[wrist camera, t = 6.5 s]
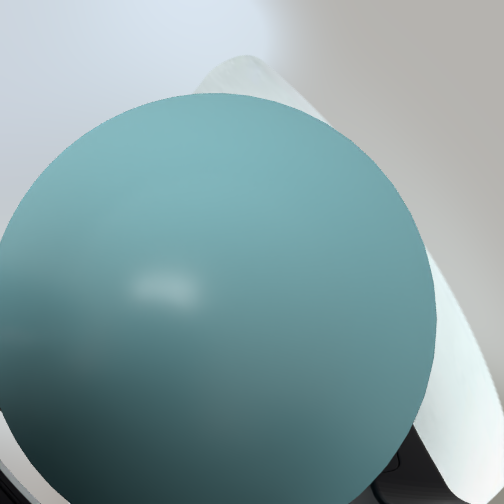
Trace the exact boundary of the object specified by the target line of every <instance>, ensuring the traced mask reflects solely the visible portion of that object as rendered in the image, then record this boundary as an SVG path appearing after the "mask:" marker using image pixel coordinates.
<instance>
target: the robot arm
mask: <svg viewBox="0 0 504 504" xmlns="http://www.w3.org/2000/svg"><path fill="white" fill-rule="evenodd" d="M0 411H1V408H0ZM1 412H2V411H1ZM0 504H41V503H39V501H38V500H36V499H35V498H34V497H33V496H32V495H31V494H30V493H29V492H28V491H27V489H26V488H25V487H23V485H22V484H21V483H20V482H19V481H18V480H17V479H16V478H15V477H14V475H13V474H12V473H11V472H10V471H9V470H8V469H7V467H6V466H5V465H4V464H3V463H2V462H1V460H0ZM349 504H470V503H467V502H465V501H463V500H461V499H459V498H458V497H457V496H455V495H454V494H453V493H452V492H451V490H450V489H449V488H448V486H447V485H446V483H445V481H444V479H443V478H442V476H441V474H440V472H439V470H438V469H437V467H436V465H435V463H434V462H433V460H432V458H431V457H430V455H429V453H428V451H427V450H426V448H425V446H424V444H423V442H422V441H421V439H420V437H419V435H418V433H417V431H416V429H415V427H414V425H413V424H412V426H411V428H410V430H409V433H408V434H407V436H406V437H405V439H404V441H403V442H402V444H401V445H400V447H399V448H398V450H397V452H396V453H395V455H394V456H393V457H392V459H391V460H390V462H389V463H388V465H387V466H386V467H385V468H384V469H383V471H382V472H381V473H380V474H379V475H378V476H377V477H376V478H375V479H374V480H373V482H372V483H371V484H370V485H369V486H368V487H367V488H366V489H365V490H364V491H363V492H362V493H361V494H360V495H359V496H357V497H356V498H355V499H354V500H352V501H351V502H350V503H349Z"/></svg>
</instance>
